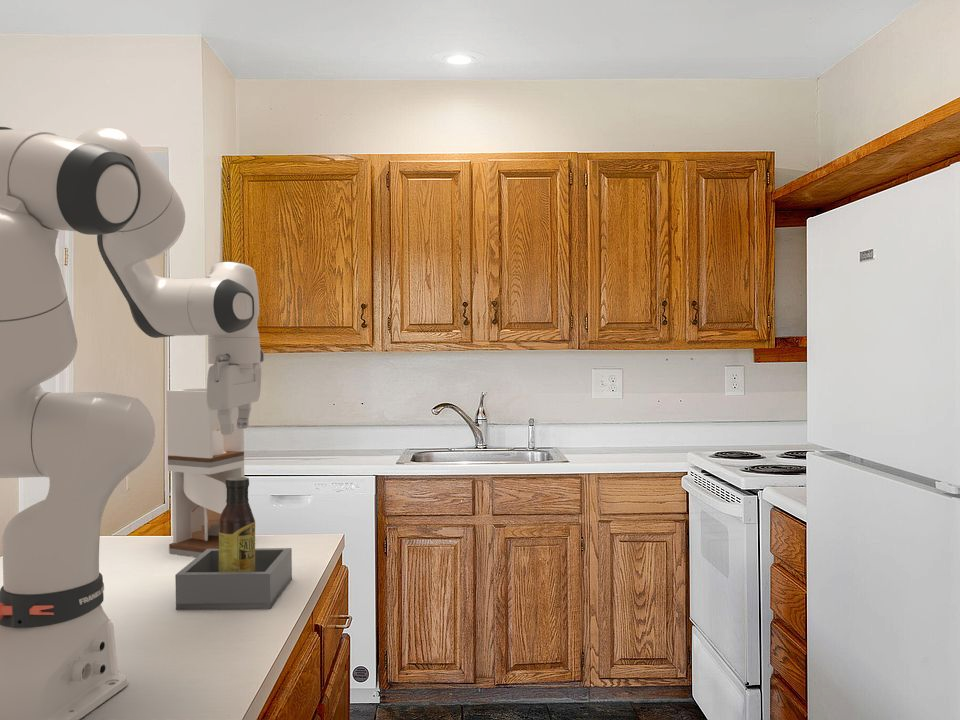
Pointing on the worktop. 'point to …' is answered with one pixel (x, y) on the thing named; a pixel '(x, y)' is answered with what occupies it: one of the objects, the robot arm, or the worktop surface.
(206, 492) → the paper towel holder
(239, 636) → the worktop surface
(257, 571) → the box
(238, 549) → the sauce bottle
